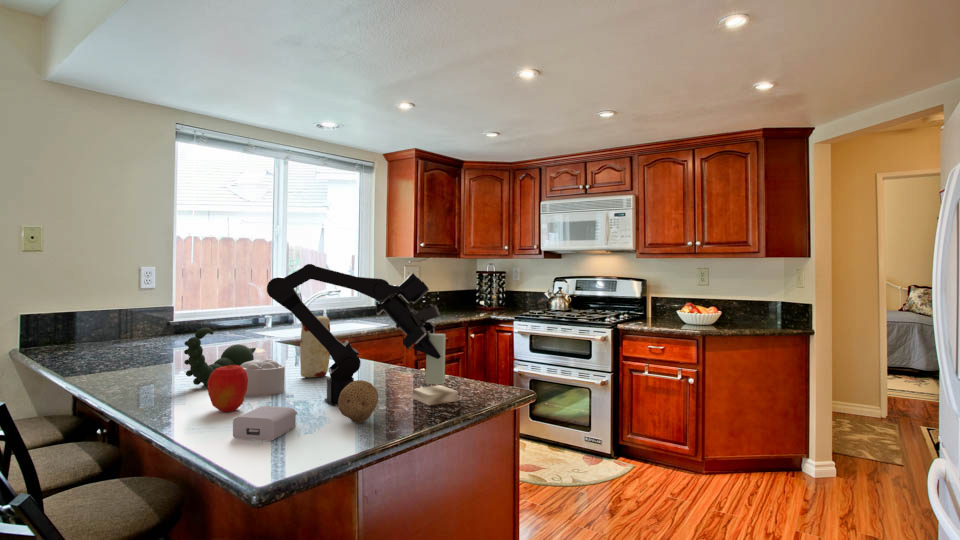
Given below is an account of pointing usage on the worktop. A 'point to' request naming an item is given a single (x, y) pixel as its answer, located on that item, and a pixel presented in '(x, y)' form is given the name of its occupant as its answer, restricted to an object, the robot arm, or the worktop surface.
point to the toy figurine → (198, 361)
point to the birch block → (435, 395)
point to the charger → (264, 423)
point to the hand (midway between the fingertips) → (440, 356)
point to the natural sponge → (358, 401)
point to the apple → (227, 387)
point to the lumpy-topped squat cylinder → (264, 377)
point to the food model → (313, 352)
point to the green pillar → (436, 361)
